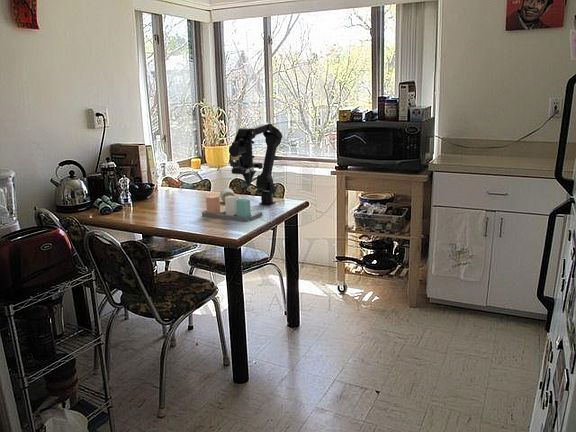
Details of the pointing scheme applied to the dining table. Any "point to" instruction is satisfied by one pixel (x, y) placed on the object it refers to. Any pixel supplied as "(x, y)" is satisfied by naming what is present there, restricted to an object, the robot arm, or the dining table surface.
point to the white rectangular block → (231, 205)
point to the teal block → (243, 208)
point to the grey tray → (234, 217)
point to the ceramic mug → (226, 193)
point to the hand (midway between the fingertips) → (248, 185)
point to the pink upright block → (213, 204)
